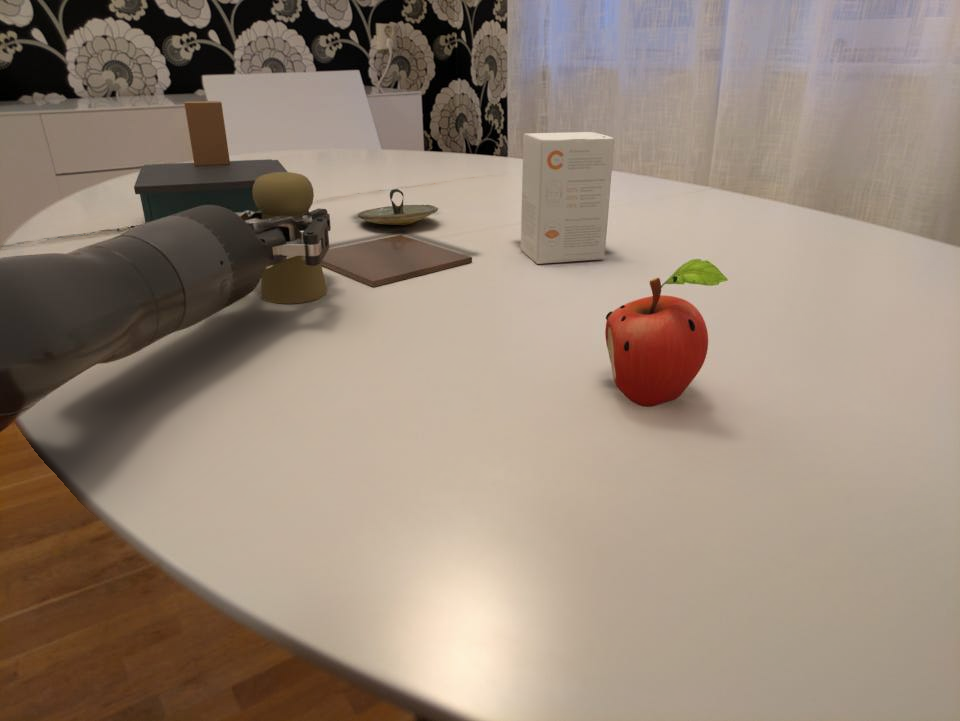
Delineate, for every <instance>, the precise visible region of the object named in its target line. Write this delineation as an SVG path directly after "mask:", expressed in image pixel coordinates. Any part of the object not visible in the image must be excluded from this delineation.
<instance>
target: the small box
mask: <svg viewBox="0 0 960 721" xmlns="http://www.w3.org/2000/svg"><path fill="white" fill-rule="evenodd" d="M522 139H523V140H522V141H523V143H522V145H523V146H522V178H521V179H522V182H521V216H520V217H521V218H520V251H521V252H522V253H523V254H525V255H526V256H527V257H528V258H529V259H530V260H532V261H533V262H534V263H535V264H537V265H542V264H554V263H555V264H556V263H557V264H558V263H569V262H584V261H600V260H605V256H606V244H607V234H608V221H609V211H610V210H609V209H610V196H611V183H612V173H613V160H614V149H615V138H614V137H612V136H610V135H607V134H602V133H598V132H594V131H571V132H532V133H531V132H529V133H528V132H527V133H526V132H525V133H523V138H522Z"/></svg>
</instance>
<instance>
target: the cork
mask: <svg viewBox="0 0 960 721" xmlns="http://www.w3.org/2000/svg"><path fill="white" fill-rule="evenodd" d="M252 193H253V199H254V202H255V204H256V206H257V207H258V208H259V210H260V211H261V212H262V220H263V219H267V218H271V217H275V216H279V215H283V216H289V217H293V218H295V217H298V216H302V215H304V214H307V213H309V212H310V208H311V207H312V206H313V203H314V197H315V195H314V187H313V185H312V182H311V181H310V179H309V178H308V177H307V176H305V175H304V174H301V173H296V172H291V171H287V172H275V173H269V174H266V175H262V176H260V177H259V178H257V179H256V181H255V183H254V185H253V191H252ZM277 227H278V228H279V226H277ZM296 239H300V236H299V226H298V227H297V228H296ZM324 275H325V274H324V271H323V266H321V264H319V265H316V266H310V265H306V264H305V261H304V260H302V256H295V257H292V258H289V259H286V260H285V261H284V262H282V263H279V264H275V265H273V266H272V267H270V268H267V269H265V271H264V273H263V275H262V277H261V279H260V296H261V298H262V299H263V300H264V301H267V302H270V303H274V304H283V305H284V304H286V305H288V304H290V305H291V304H303V303H308V302H311V301H316V300H318V299H321V298H323V296H325V295H326V294H327V292H328V288H327V284H326V279H325V276H324Z"/></svg>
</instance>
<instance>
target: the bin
mask: <svg viewBox="0 0 960 721" xmlns="http://www.w3.org/2000/svg"><path fill="white" fill-rule="evenodd" d="M261 160H262V159H245V160H243V159H242V161H261ZM266 160H273V159H271V158H268V159H266ZM238 161H239V160H230V162H238ZM192 163H193V162H173V163H172V164H192ZM169 164H170V163H153V164H152V163H151V165H169ZM146 165H147V164H144V165H143V166H146ZM252 191H253V188H241V189H223V190H205V191H188V192H170V193H152V194H139V198H140V202H141V207H142V213H143V218H144V223H147V222H151V221H154V220H157V219H160V218H163V217H166V216H170V215H173V214H176V213H179V212H182V211H185V210H188V209H192V208H195V207H198V206H202V205H216V206H221V207H224V208H226V209H229V210H231V211H232V212H239V213H241V212H245V211H252V212H256V211H259V208H258V207H257V206H256V204H255V202H254V199H253V193H252Z"/></svg>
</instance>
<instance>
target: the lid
mask: <svg viewBox="0 0 960 721" xmlns="http://www.w3.org/2000/svg"><path fill="white" fill-rule="evenodd" d="M395 193H399V194H400V195H401V196H402V197H404V192H403V191H401V190H400V189H399V188H394V189H391V190H390V191H389V200H390V201H391V205H390V206H383V207H376V208H371V209H366V210H364V211H360V212H359V213H358V214H357V217H358V218H359V219H361V220H363V221H365V222H369V223H372V224H377V225H388V226H392V225H393V226H407V225H411V224H414V223H416V222H418V221H420V220H423V219H425V218H427V217H429V216H431V215H433V214H435V213H437V212H438V211H439V207H437V206H435V205H431V204H404V199H402V201H401V203H400V205H397V204H396V203H395V202H394V201H393V197H394V194H395Z"/></svg>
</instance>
